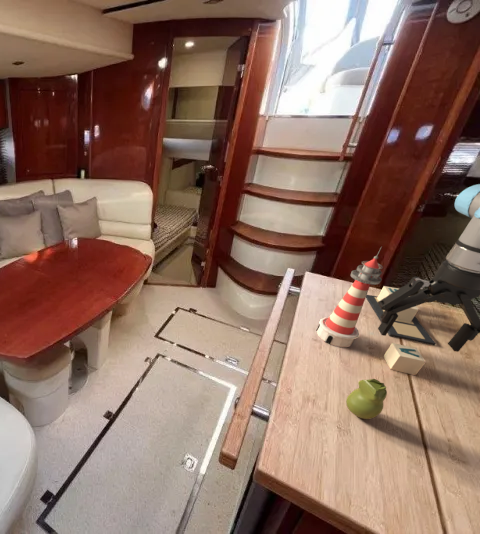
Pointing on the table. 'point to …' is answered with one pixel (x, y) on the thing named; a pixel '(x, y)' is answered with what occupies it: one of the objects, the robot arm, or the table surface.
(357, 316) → the miniature lighthouse
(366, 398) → the green rounded piece
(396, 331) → the word mat
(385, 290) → the letter S
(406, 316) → the letter E
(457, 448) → the table surface
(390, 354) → the cream letter cube
